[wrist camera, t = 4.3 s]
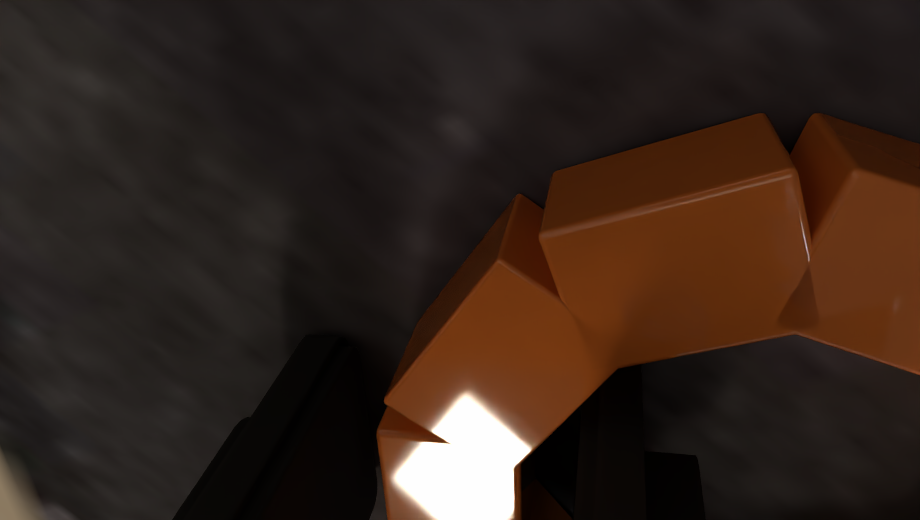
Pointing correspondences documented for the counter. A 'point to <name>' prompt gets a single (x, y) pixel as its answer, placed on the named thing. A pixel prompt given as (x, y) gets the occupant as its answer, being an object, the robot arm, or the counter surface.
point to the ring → (647, 295)
